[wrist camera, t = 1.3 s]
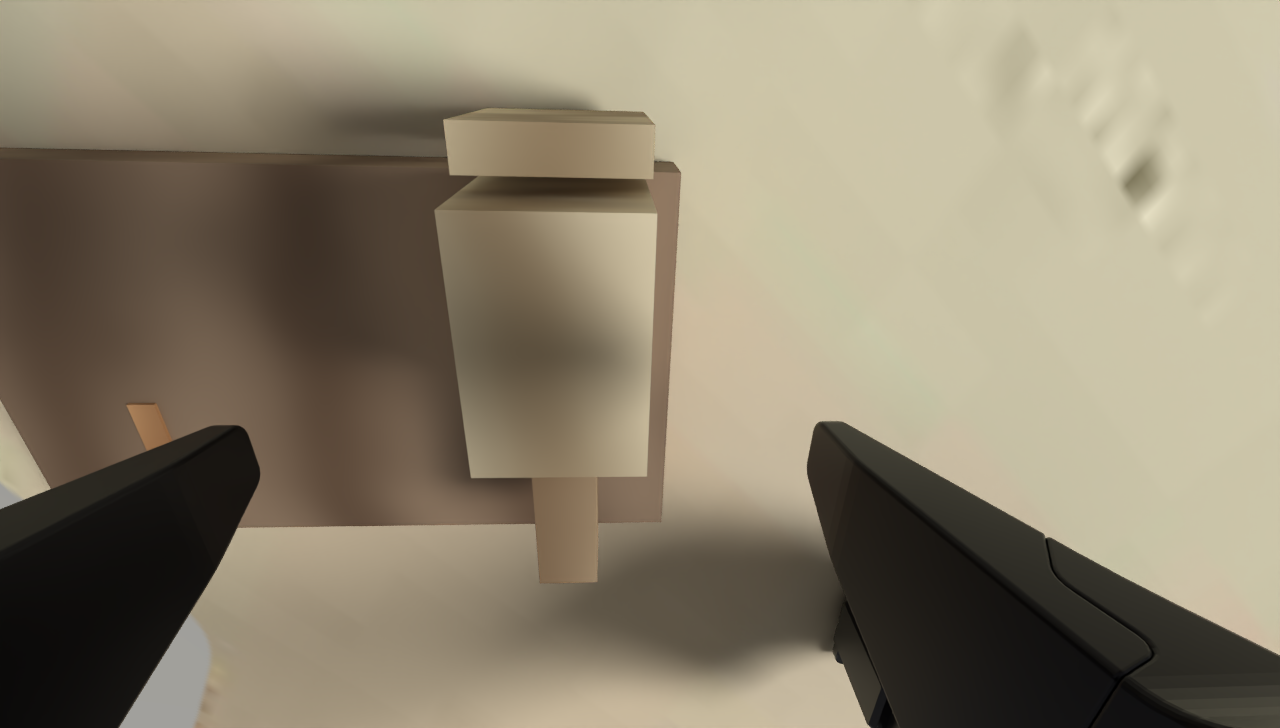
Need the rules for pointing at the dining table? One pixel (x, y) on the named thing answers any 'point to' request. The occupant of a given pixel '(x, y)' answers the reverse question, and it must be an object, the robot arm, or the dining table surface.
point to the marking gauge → (553, 309)
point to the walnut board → (266, 328)
